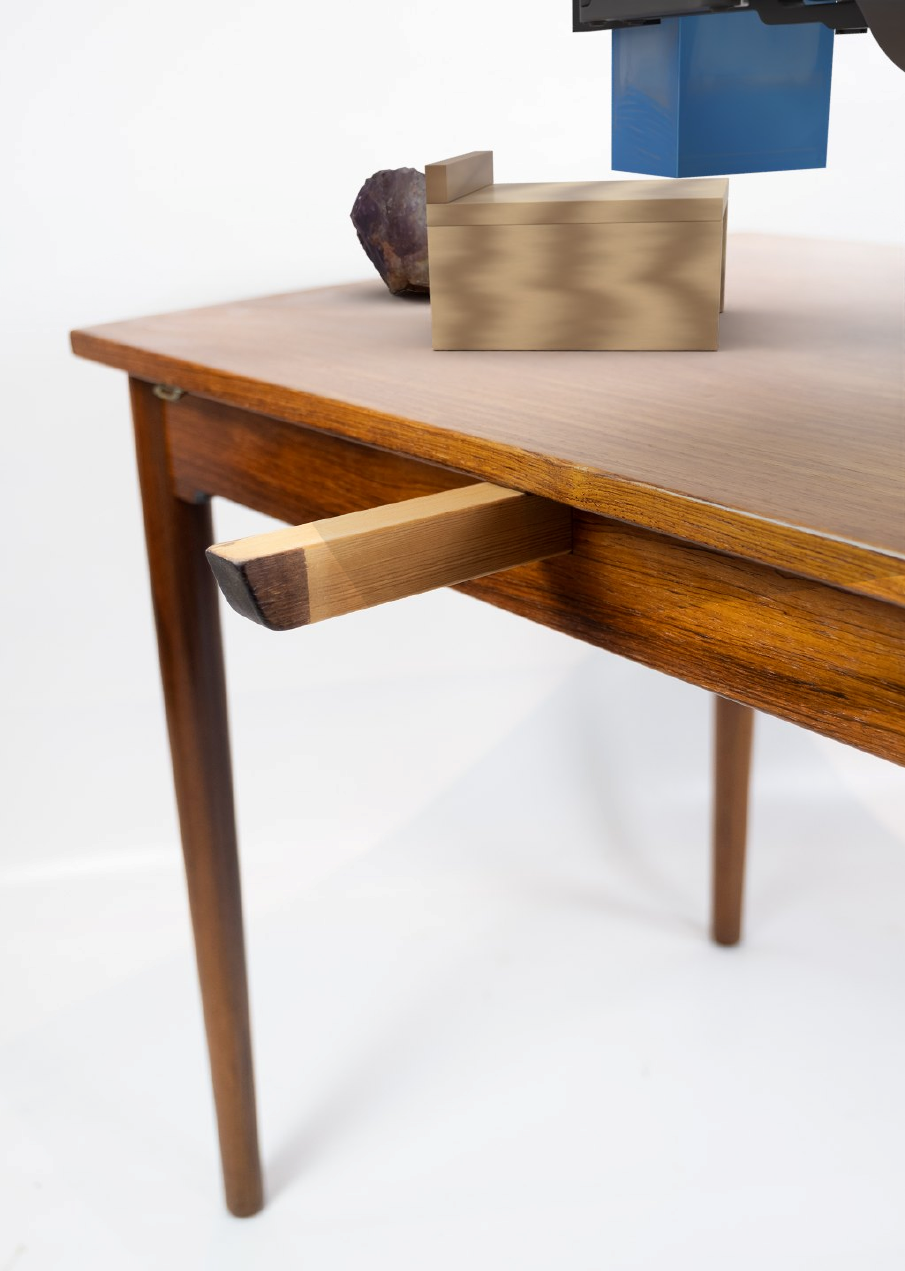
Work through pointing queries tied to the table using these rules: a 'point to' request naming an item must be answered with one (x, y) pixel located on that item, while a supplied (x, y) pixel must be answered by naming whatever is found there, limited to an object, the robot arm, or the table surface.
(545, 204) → the wooden box with backstop
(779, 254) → the table surface
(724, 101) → the perfume bottle
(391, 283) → the rock
